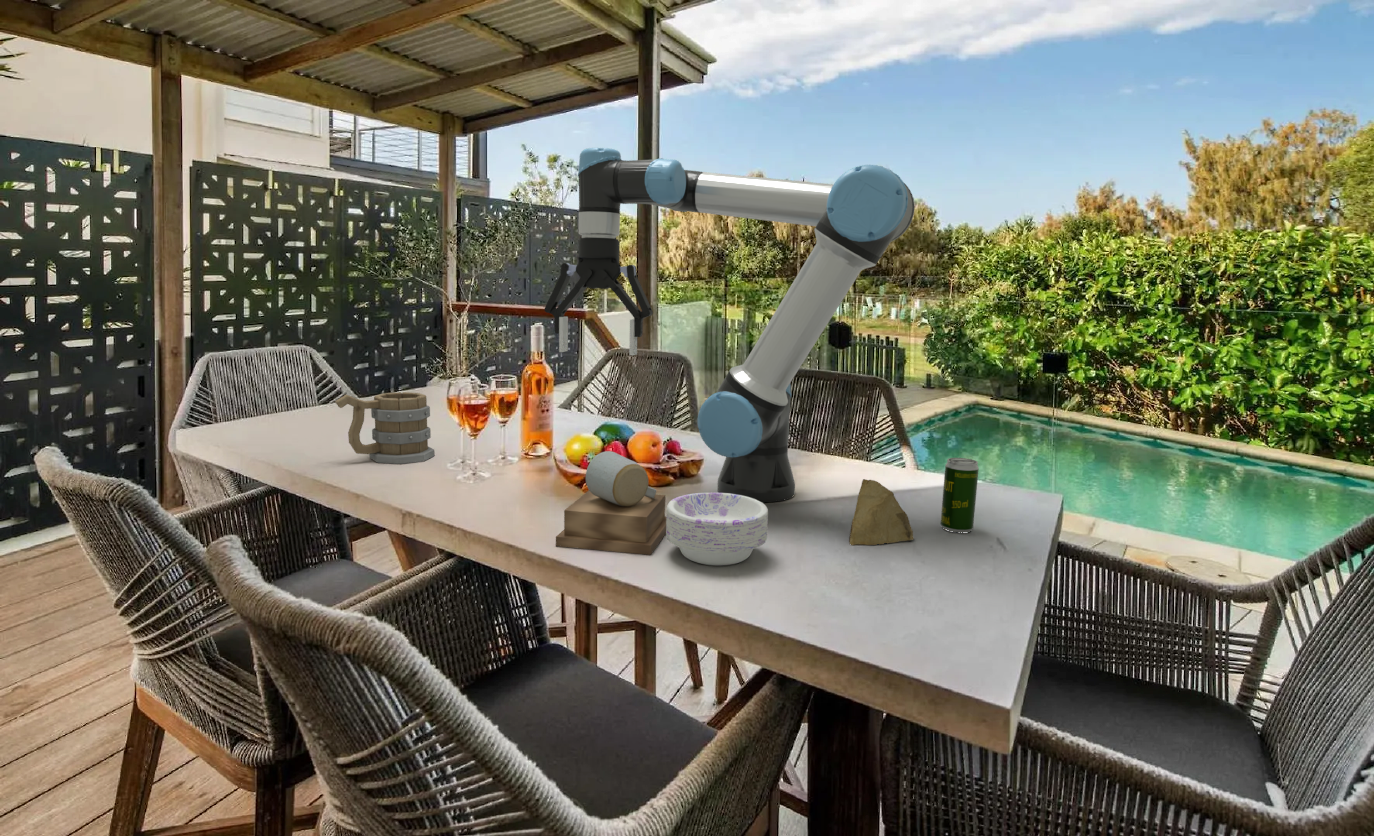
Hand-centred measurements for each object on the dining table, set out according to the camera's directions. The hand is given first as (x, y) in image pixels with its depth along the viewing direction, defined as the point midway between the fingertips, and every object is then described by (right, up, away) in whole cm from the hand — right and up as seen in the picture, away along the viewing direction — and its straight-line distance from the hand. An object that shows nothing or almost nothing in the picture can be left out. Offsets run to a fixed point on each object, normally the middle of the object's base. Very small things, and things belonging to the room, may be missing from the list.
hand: (598, 353), depth 151 cm
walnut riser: (+5, -31, -22) cm, 38 cm away
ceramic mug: (+6, -26, -21) cm, 34 cm away
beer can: (+63, -31, -13) cm, 72 cm away
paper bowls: (+21, -33, -29) cm, 49 cm away
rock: (+48, -32, -20) cm, 62 cm away
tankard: (-50, -21, +26) cm, 60 cm away
